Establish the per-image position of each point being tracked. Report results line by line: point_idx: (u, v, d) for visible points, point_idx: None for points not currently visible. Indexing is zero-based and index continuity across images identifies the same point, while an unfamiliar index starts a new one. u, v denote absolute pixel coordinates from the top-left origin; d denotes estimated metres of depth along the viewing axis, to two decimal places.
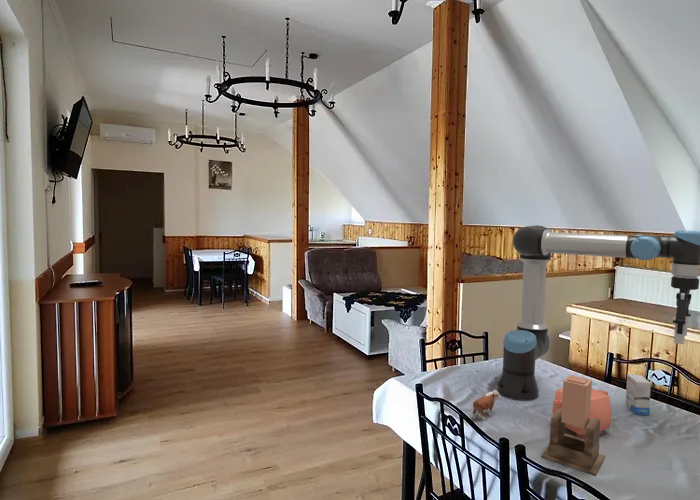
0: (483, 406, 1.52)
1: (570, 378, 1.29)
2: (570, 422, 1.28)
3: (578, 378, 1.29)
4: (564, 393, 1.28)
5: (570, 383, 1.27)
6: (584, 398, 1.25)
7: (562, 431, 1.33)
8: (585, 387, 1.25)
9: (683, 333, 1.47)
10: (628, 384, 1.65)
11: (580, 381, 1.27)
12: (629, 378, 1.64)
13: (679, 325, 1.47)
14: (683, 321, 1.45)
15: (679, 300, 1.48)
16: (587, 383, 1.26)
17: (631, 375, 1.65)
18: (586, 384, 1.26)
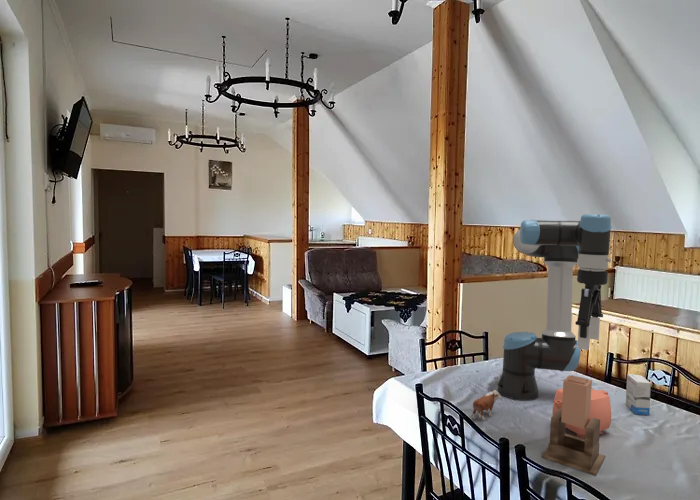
0: (483, 406, 1.52)
1: (570, 378, 1.29)
2: (570, 422, 1.28)
3: (578, 378, 1.29)
4: (564, 393, 1.28)
5: (570, 383, 1.27)
6: (584, 398, 1.25)
7: (562, 431, 1.33)
8: (585, 387, 1.25)
9: (587, 337, 1.23)
10: (628, 384, 1.65)
11: (580, 381, 1.27)
12: (629, 378, 1.64)
13: (582, 327, 1.22)
14: (585, 322, 1.20)
15: (582, 297, 1.23)
16: (587, 383, 1.26)
17: (631, 375, 1.65)
18: (586, 384, 1.26)
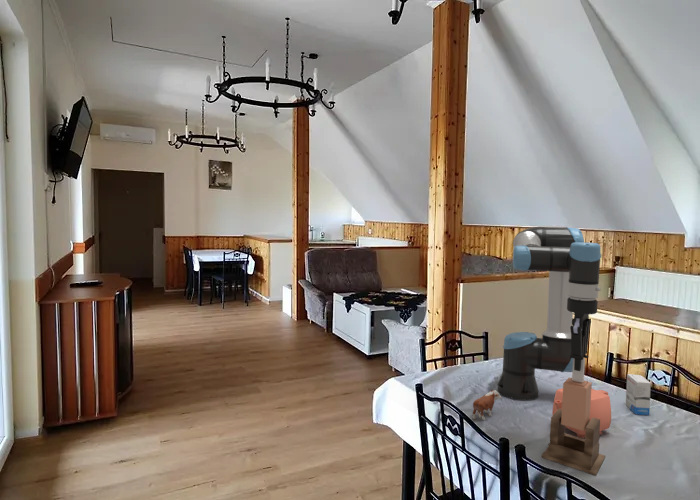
0: (483, 406, 1.52)
1: (570, 380, 1.29)
2: (570, 424, 1.28)
3: None
4: (564, 395, 1.28)
5: (570, 385, 1.27)
6: (584, 400, 1.25)
7: (562, 431, 1.33)
8: (585, 389, 1.25)
9: (581, 370, 1.27)
10: (628, 384, 1.65)
11: (580, 383, 1.27)
12: (629, 378, 1.64)
13: (576, 360, 1.27)
14: (579, 356, 1.24)
15: (572, 334, 1.24)
16: (587, 385, 1.26)
17: (631, 375, 1.65)
18: (586, 386, 1.26)
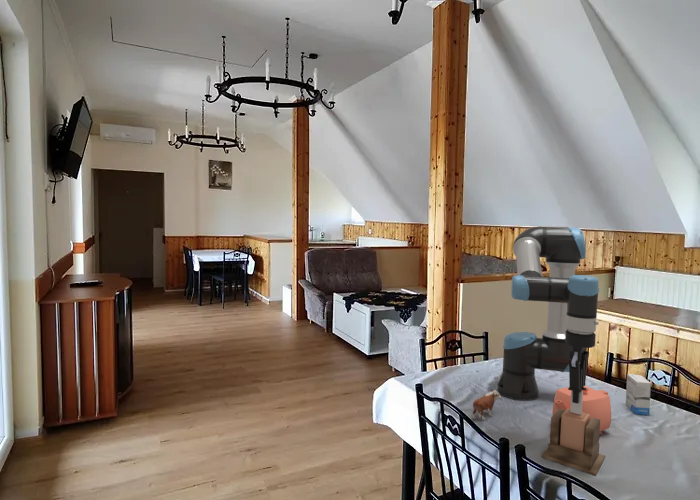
0: (483, 406, 1.52)
1: (568, 412, 1.30)
2: None
3: None
4: (562, 427, 1.29)
5: (568, 418, 1.28)
6: (582, 433, 1.26)
7: None
8: (583, 422, 1.25)
9: (579, 402, 1.28)
10: (628, 384, 1.65)
11: (578, 416, 1.28)
12: (629, 378, 1.64)
13: (574, 393, 1.27)
14: (577, 389, 1.25)
15: (571, 368, 1.25)
16: (585, 418, 1.27)
17: (631, 375, 1.65)
18: (584, 419, 1.26)
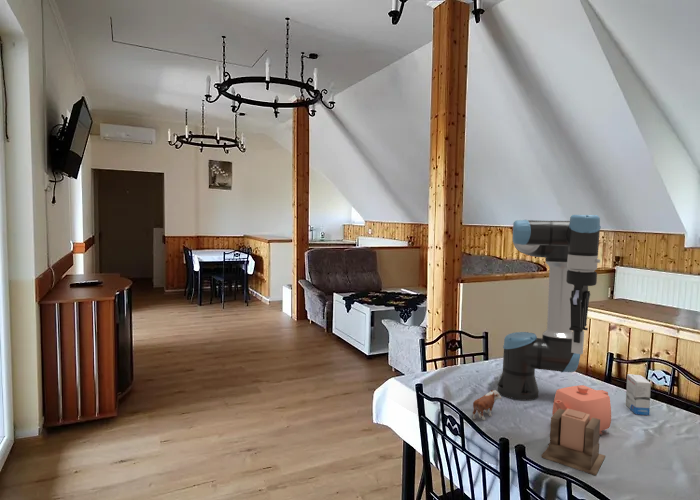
0: (483, 406, 1.52)
1: (568, 412, 1.30)
2: None
3: (576, 412, 1.30)
4: (562, 427, 1.29)
5: (568, 418, 1.28)
6: (582, 433, 1.26)
7: None
8: (583, 422, 1.25)
9: (581, 342, 1.27)
10: (628, 384, 1.65)
11: (578, 416, 1.28)
12: (629, 378, 1.64)
13: (576, 332, 1.27)
14: (579, 328, 1.25)
15: (572, 306, 1.24)
16: (585, 418, 1.27)
17: (631, 375, 1.65)
18: (584, 419, 1.26)
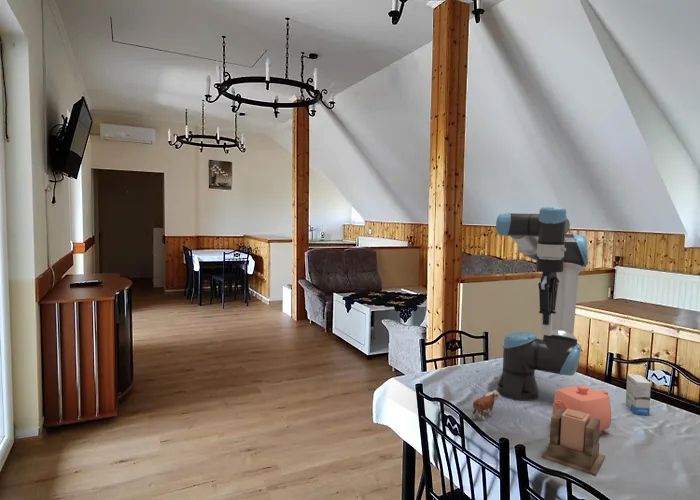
0: (483, 406, 1.52)
1: (568, 412, 1.30)
2: None
3: (576, 412, 1.30)
4: (562, 427, 1.29)
5: (568, 418, 1.28)
6: (582, 433, 1.26)
7: None
8: (583, 422, 1.25)
9: (549, 324, 1.39)
10: (628, 384, 1.65)
11: (578, 416, 1.28)
12: (629, 378, 1.64)
13: (545, 315, 1.38)
14: (547, 311, 1.36)
15: (540, 290, 1.35)
16: (585, 418, 1.27)
17: (631, 375, 1.65)
18: (584, 419, 1.26)
